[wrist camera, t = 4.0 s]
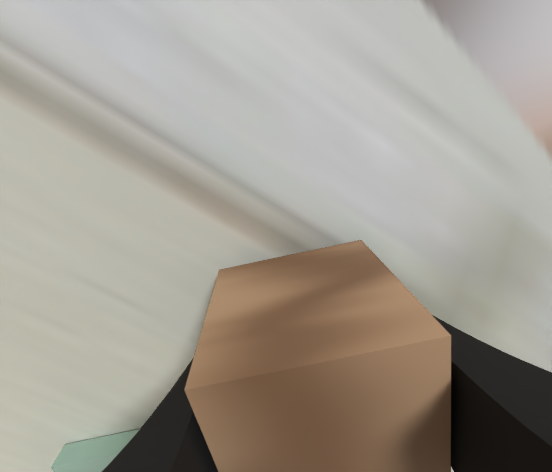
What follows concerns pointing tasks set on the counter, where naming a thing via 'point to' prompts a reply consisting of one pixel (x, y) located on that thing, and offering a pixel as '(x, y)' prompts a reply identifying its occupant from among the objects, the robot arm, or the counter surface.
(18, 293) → the counter surface
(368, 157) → the counter surface
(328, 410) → the walnut block
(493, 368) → the robot arm
